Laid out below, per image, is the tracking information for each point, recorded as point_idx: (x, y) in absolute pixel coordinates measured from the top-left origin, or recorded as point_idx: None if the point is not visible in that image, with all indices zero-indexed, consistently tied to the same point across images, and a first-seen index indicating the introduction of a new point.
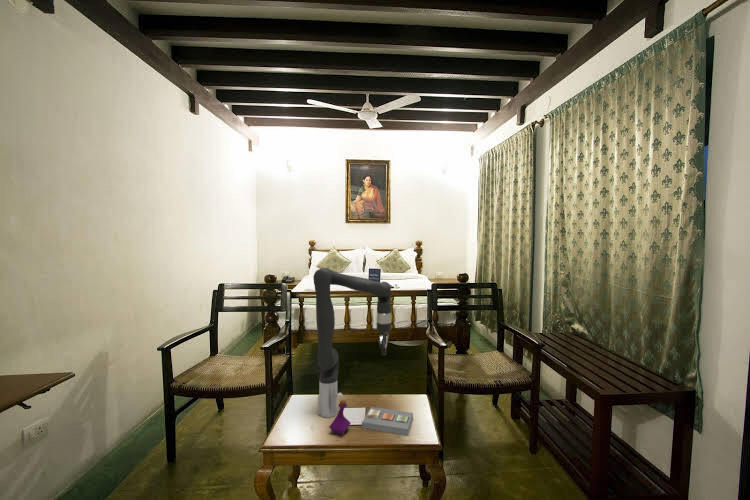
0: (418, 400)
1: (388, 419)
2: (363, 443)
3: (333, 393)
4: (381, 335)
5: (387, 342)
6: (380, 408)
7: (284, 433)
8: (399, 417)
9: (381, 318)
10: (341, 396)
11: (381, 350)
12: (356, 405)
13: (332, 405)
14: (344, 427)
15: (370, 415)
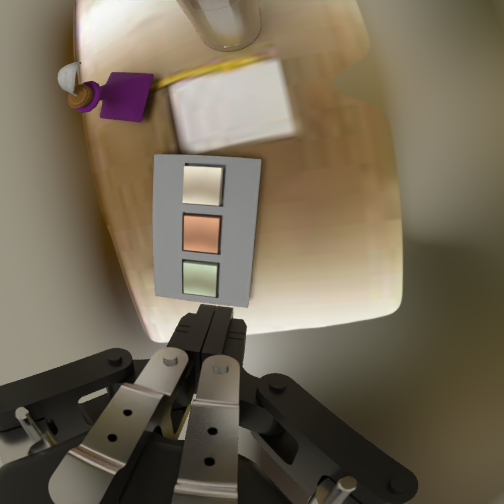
0: (365, 307)
1: (184, 237)
2: (101, 180)
3: (190, 15)
4: (10, 498)
5: (280, 445)
6: (255, 197)
7: None
8: (202, 271)
9: None
10: (65, 87)
11: (189, 331)
12: (303, 98)
13: (199, 31)
14: (108, 116)
15: (184, 175)
